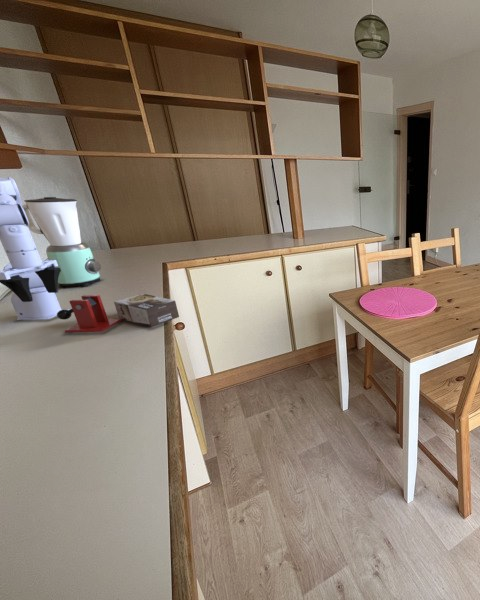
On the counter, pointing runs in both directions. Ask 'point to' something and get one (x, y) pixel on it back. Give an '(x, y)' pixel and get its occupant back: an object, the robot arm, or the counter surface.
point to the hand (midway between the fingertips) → (40, 296)
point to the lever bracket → (90, 315)
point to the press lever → (71, 310)
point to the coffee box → (146, 309)
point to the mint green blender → (63, 239)
